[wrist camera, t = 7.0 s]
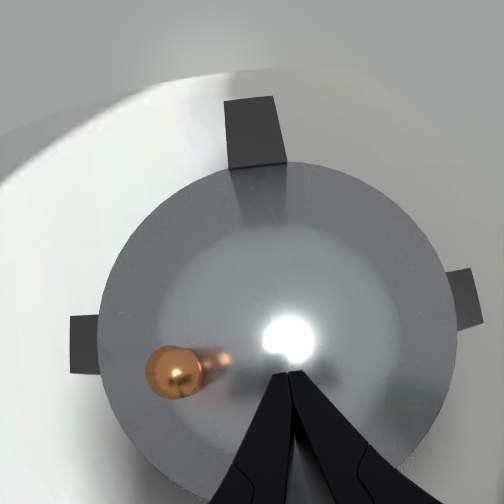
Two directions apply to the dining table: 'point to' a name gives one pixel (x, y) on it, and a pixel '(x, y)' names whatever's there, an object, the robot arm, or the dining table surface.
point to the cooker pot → (87, 325)
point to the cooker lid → (272, 309)
